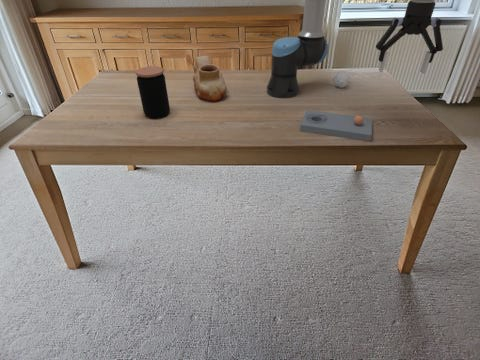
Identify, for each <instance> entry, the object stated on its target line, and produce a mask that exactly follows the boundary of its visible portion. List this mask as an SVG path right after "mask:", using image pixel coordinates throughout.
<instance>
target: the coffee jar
mask: <svg viewBox="0 0 480 360" xmlns="http://www.w3.org/2000/svg"><path fill="white" fill-rule="evenodd" d="M134 74H135V75H136V81H137V87H138V91H139V96H140V100H141V105H142V109H143V110H142V111H143V114H144V115H145V117H147V118H149V119H151V120H152V119H153V120H157V119H163V118H165V117H167V116H168V115H169V114H170V111H171V108H170V101H169V95H168V90H167V83H166V76H165V74H164V68H163V67H161V66H154V65H153V66H152V65H151V66H144V67H139V68H137V69H136V70H135V73H134Z"/></svg>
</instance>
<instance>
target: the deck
mask: <svg viewBox="0 0 480 360" xmlns="http://www.w3.org/2000/svg"><path fill="white" fill-rule="evenodd" d="M356 116H357V115H350V114H341V113H335V112H334V113H333V112H325V111H320V110H311V109H306V111H305V113H304V115H303V118H302V121H301V123H300V126H299V132H304V133H312V134H319V135H324V136H331V137H338V138H346V139H351V140H356V141H357V140H359V141H363V140H367V141H366V142H371V140H372V134H373V132H372V131H373V130H372V129H373V118H372V117H371V118H370V117H365V116H362V117H363V119H364V121H363V123H362V124H360V125H356V124H355V123H354V118H355V117H356Z"/></svg>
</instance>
